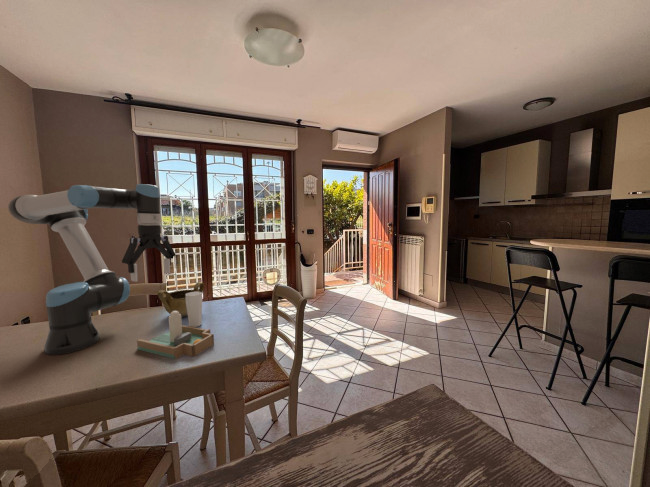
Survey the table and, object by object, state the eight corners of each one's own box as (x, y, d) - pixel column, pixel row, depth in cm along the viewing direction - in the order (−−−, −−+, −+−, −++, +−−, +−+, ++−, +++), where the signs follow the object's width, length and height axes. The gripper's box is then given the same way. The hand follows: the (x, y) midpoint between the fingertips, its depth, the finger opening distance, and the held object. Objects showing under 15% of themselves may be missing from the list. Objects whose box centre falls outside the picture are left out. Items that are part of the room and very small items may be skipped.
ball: (195, 353, 96) (189, 346, 96) (202, 348, 99) (196, 341, 100) (199, 347, 94) (193, 339, 95) (207, 342, 98) (201, 335, 99)
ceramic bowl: (170, 326, 117) (168, 294, 116) (151, 318, 126) (149, 288, 124) (213, 310, 136) (212, 283, 135) (194, 305, 145) (192, 279, 143)
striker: (166, 342, 98) (164, 313, 97) (179, 336, 104) (178, 307, 103) (178, 345, 96) (176, 315, 95) (191, 338, 102) (189, 309, 101)
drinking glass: (196, 329, 114) (195, 296, 113) (183, 327, 116) (181, 295, 114) (206, 322, 121) (205, 291, 119) (194, 321, 122) (192, 290, 121)
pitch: (137, 349, 97) (136, 339, 96) (175, 331, 112) (174, 322, 111) (186, 361, 89) (185, 350, 88) (219, 340, 104) (219, 331, 103)
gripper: (121, 225, 89) (125, 285, 91) (183, 224, 112) (185, 271, 115) (107, 224, 91) (111, 283, 94) (171, 223, 115) (172, 270, 117)
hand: (151, 277), depth 104 cm, fingers open, 13 cm apart
